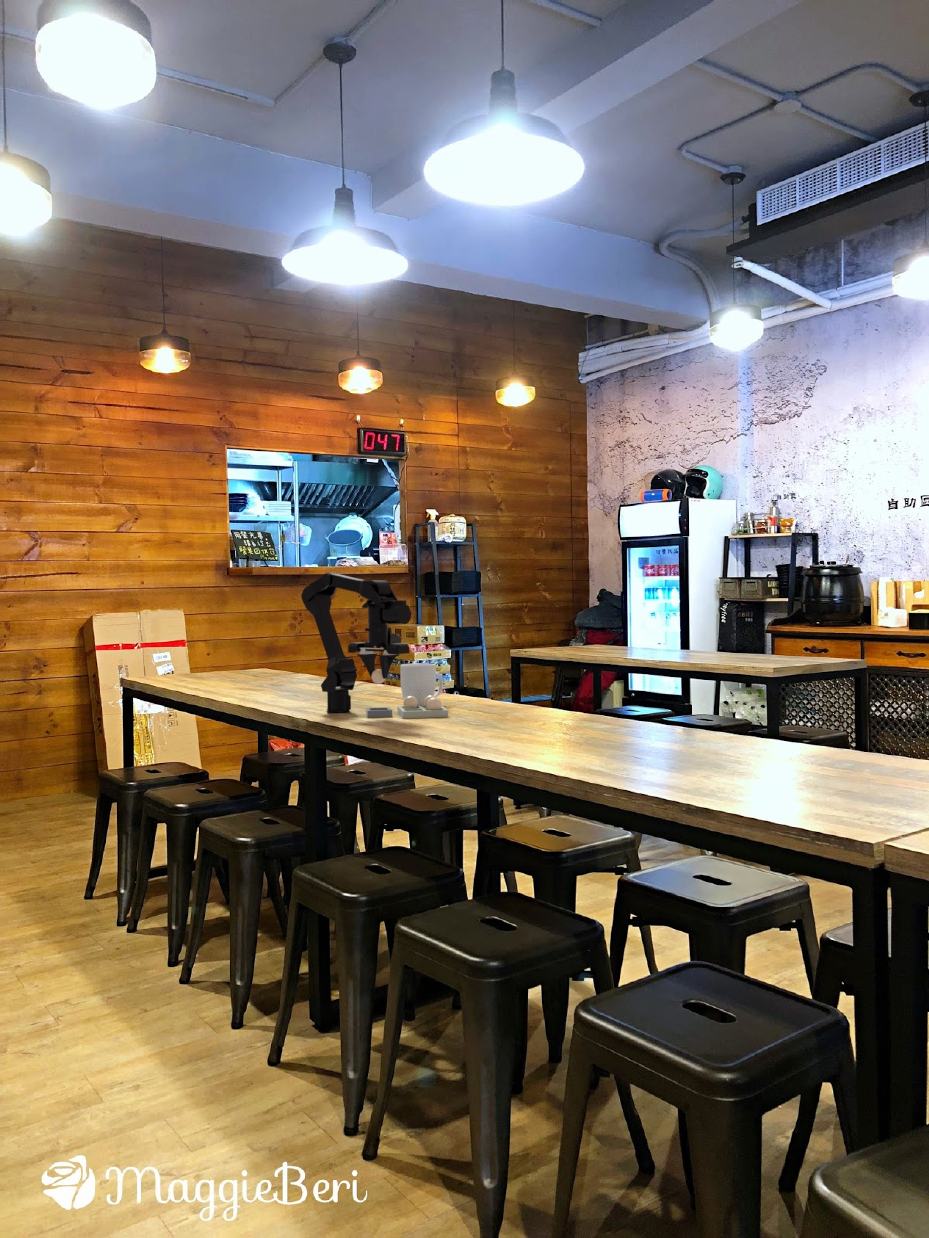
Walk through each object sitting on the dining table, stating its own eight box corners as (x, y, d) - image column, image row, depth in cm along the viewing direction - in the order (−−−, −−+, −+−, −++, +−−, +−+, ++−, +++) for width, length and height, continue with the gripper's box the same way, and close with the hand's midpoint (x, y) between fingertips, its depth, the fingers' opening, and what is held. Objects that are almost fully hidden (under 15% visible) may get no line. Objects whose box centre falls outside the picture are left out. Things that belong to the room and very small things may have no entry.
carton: (402, 718, 267) (402, 699, 267) (397, 712, 280) (397, 694, 280) (448, 716, 270) (448, 698, 269) (441, 711, 282) (440, 693, 282)
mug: (431, 702, 304) (431, 662, 304) (453, 705, 296) (453, 663, 296) (393, 706, 295) (393, 664, 295) (414, 709, 286) (414, 666, 286)
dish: (367, 717, 269) (367, 710, 269) (365, 714, 276) (365, 707, 276) (392, 716, 271) (392, 710, 271) (389, 713, 278) (389, 707, 277)
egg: (372, 684, 271) (371, 669, 271) (370, 683, 275) (370, 668, 275) (386, 684, 271) (386, 669, 271) (385, 682, 276) (385, 668, 275)
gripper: (420, 623, 274) (421, 677, 274) (371, 622, 285) (371, 674, 285) (396, 624, 265) (397, 680, 265) (346, 624, 275) (347, 677, 276)
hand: (378, 678), depth 273 cm, fingers closed on egg, 4 cm apart
